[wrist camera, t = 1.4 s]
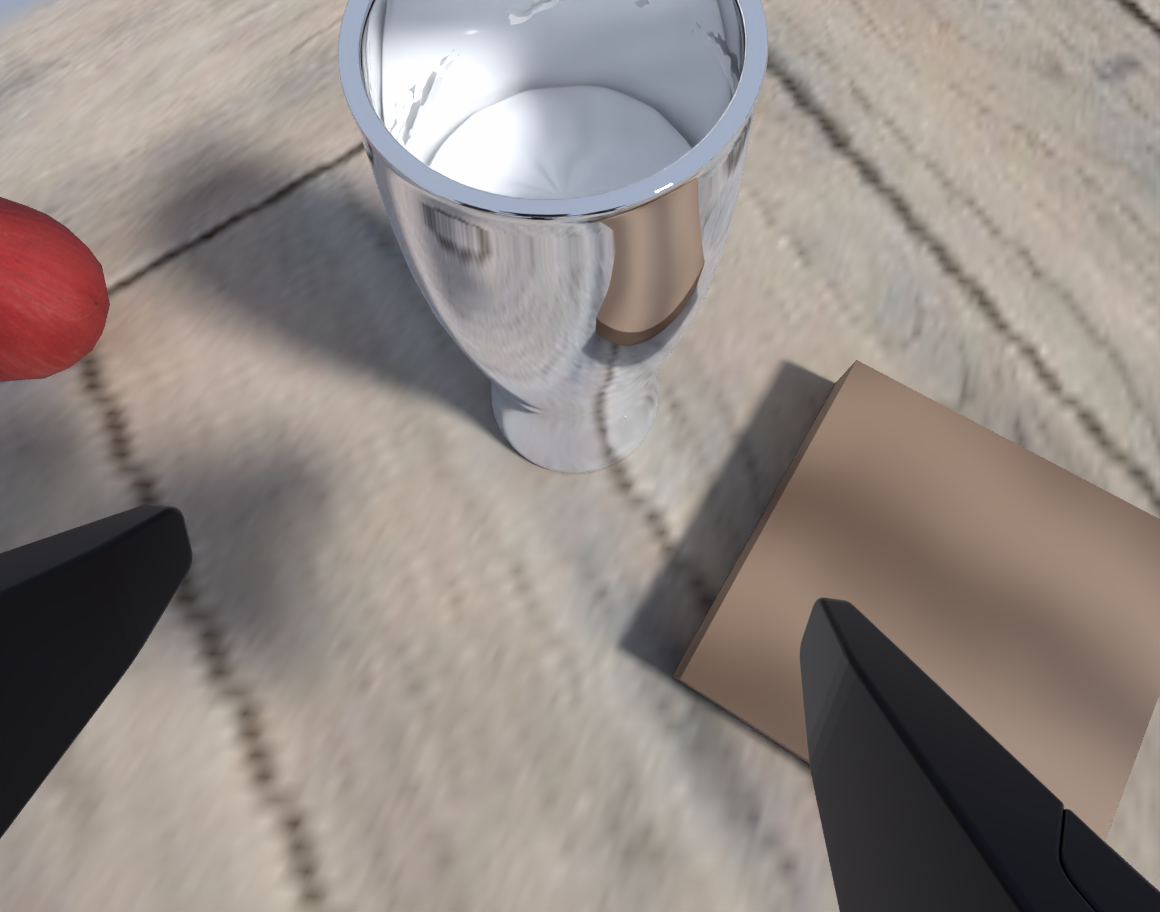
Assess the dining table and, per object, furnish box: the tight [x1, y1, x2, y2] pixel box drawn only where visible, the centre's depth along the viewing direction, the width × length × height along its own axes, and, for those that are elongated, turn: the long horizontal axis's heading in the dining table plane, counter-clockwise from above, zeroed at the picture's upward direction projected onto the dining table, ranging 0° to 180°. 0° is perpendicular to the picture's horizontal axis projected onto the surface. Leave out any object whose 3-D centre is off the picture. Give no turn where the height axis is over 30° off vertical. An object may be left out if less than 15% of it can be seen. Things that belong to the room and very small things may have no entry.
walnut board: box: [673, 360, 1160, 841], centre depth 21 cm, size 12×12×2 cm
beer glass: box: [338, 0, 768, 473], centre depth 17 cm, size 7×7×15 cm
